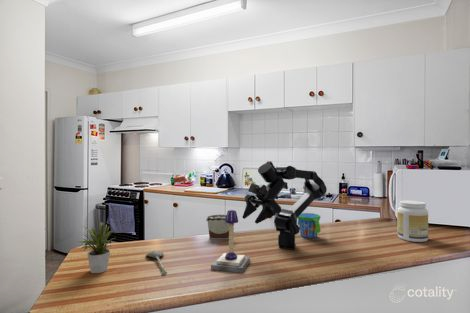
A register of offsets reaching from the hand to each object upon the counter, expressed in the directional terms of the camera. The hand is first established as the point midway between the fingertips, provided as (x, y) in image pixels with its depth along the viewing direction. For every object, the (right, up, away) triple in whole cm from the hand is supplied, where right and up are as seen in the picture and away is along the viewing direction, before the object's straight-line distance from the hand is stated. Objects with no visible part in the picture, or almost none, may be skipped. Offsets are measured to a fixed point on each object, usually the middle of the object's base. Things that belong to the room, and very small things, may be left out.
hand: (249, 220), depth 113 cm
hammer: (-33, -14, -7) cm, 37 cm away
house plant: (-53, -14, -13) cm, 56 cm away
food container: (-12, -14, +26) cm, 32 cm away
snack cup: (+29, -13, +26) cm, 42 cm away
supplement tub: (+76, -13, +22) cm, 80 cm away
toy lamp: (-7, -11, -9) cm, 16 cm away
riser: (-7, -14, -9) cm, 18 cm away
